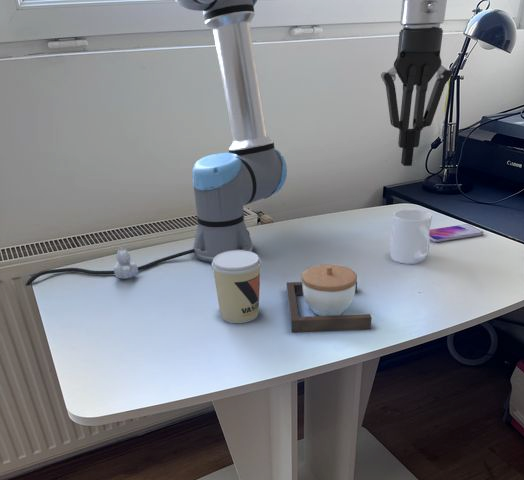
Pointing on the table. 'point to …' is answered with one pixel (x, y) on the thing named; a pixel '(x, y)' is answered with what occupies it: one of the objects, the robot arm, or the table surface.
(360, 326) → the bay
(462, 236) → the smartphone
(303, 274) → the trinket box
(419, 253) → the mug
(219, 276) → the coffee cup
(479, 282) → the table surface
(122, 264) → the grey lumpy figure
